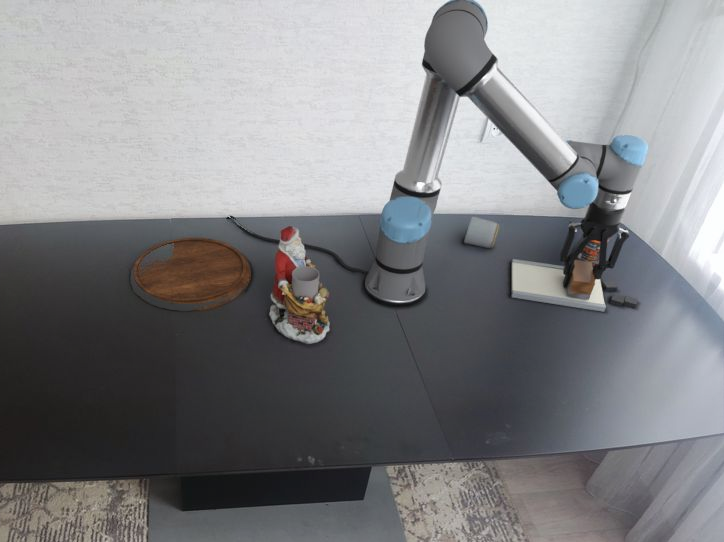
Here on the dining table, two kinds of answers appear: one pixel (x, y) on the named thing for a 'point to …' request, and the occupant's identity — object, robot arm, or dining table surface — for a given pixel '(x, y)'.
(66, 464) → the dining table surface
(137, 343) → the dining table surface
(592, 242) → the supplement bottle
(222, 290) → the cutting board
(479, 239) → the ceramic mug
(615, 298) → the grey block
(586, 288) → the eraser
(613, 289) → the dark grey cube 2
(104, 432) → the dining table surface
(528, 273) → the whiteboard
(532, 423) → the dining table surface
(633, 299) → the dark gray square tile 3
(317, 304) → the santa figurine
